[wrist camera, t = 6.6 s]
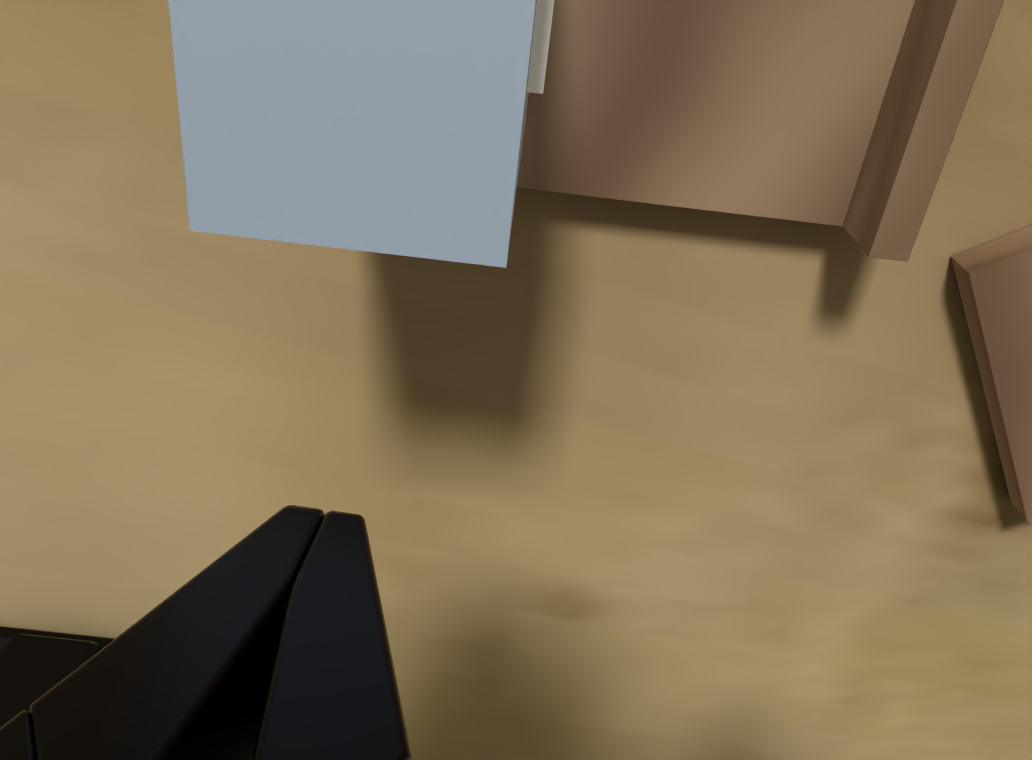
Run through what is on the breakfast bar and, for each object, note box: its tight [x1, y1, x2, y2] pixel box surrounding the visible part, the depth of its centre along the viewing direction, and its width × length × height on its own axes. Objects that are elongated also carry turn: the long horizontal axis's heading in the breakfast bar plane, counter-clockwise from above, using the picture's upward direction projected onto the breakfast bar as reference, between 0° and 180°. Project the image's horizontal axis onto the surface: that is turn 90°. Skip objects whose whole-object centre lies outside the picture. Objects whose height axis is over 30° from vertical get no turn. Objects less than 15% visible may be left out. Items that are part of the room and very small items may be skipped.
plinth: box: [517, 0, 1004, 262], centre depth 16 cm, size 12×8×3 cm, turn 84°
